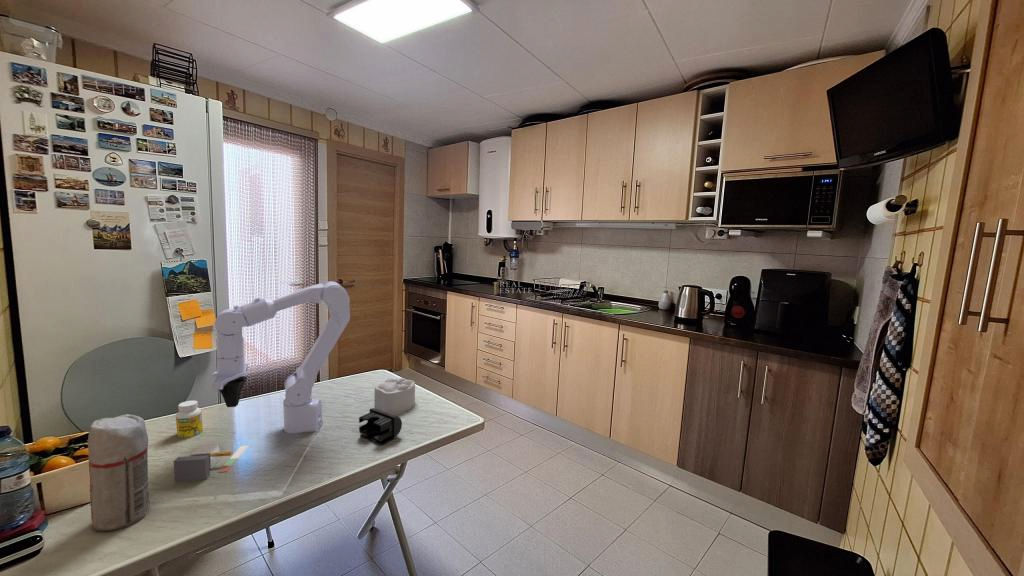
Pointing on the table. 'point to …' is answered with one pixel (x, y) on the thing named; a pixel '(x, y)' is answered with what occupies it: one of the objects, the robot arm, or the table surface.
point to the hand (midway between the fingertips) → (232, 406)
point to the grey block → (210, 453)
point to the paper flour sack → (118, 471)
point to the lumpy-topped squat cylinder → (395, 395)
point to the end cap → (379, 427)
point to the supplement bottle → (189, 419)
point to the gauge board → (200, 466)
